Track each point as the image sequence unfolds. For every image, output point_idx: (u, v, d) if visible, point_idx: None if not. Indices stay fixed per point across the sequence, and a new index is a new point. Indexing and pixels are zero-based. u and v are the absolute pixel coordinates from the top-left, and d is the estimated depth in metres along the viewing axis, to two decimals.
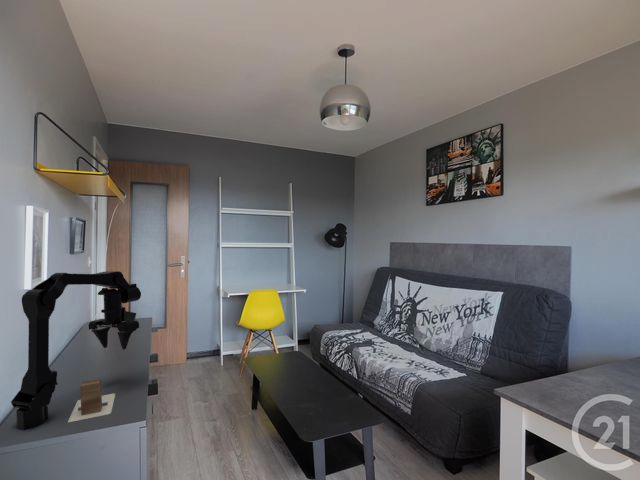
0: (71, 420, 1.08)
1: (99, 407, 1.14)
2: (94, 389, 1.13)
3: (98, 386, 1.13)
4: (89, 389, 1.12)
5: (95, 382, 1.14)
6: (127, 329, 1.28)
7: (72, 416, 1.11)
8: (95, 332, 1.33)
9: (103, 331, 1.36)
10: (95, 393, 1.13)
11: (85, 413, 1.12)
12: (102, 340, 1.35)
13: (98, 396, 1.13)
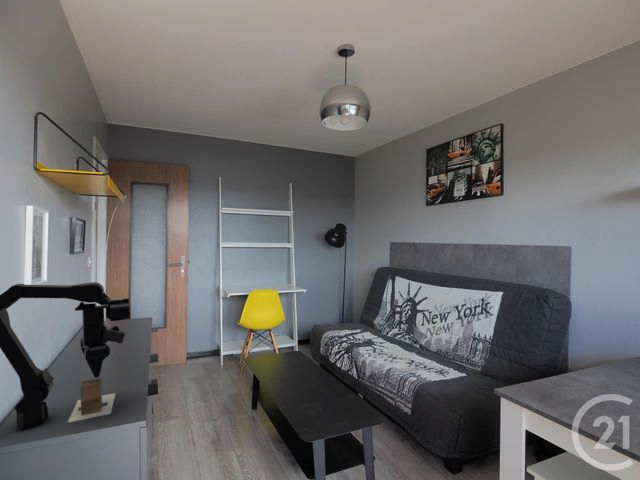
0: (71, 420, 1.08)
1: (99, 407, 1.14)
2: (94, 389, 1.13)
3: (98, 386, 1.13)
4: (89, 389, 1.12)
5: (95, 382, 1.14)
6: (88, 356, 1.06)
7: (72, 416, 1.11)
8: (82, 350, 1.17)
9: None
10: (95, 393, 1.13)
11: (85, 413, 1.12)
12: None
13: (98, 396, 1.13)
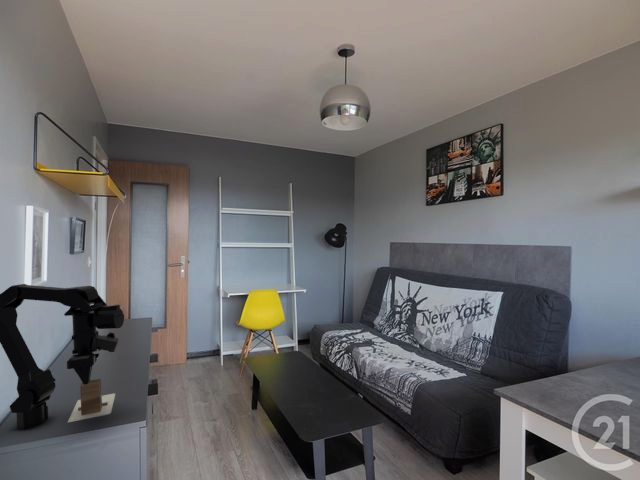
0: (71, 420, 1.08)
1: (99, 407, 1.14)
2: (94, 389, 1.13)
3: (98, 386, 1.13)
4: (89, 389, 1.12)
5: (95, 382, 1.14)
6: (69, 366, 0.98)
7: (72, 416, 1.11)
8: None
9: None
10: (95, 393, 1.13)
11: (85, 413, 1.12)
12: None
13: (98, 396, 1.13)
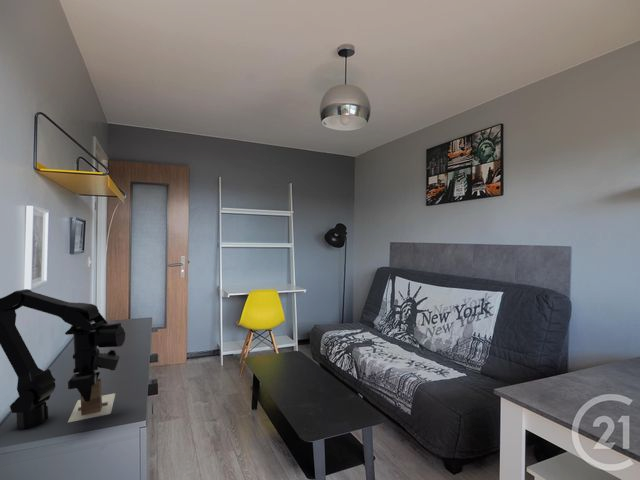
0: (71, 420, 1.08)
1: (99, 407, 1.14)
2: (94, 389, 1.13)
3: (98, 386, 1.13)
4: None
5: None
6: (70, 386, 0.99)
7: (72, 416, 1.11)
8: None
9: None
10: (95, 393, 1.13)
11: (85, 413, 1.12)
12: None
13: (98, 396, 1.13)
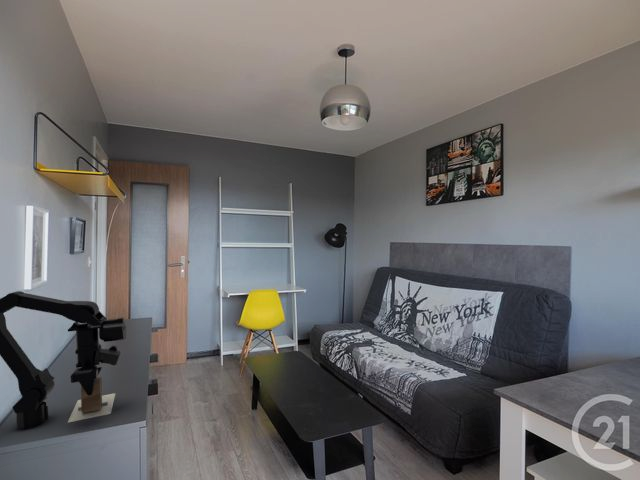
0: (71, 420, 1.08)
1: (99, 404, 1.14)
2: (95, 385, 1.14)
3: (99, 382, 1.15)
4: None
5: (96, 379, 1.16)
6: (73, 380, 1.03)
7: (72, 416, 1.11)
8: None
9: None
10: (95, 389, 1.14)
11: (85, 410, 1.12)
12: None
13: (98, 393, 1.14)
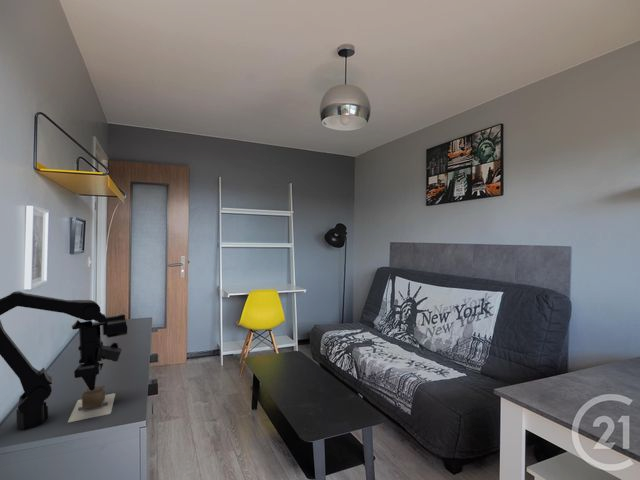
0: (71, 420, 1.08)
1: None
2: (99, 387, 1.22)
3: (103, 386, 1.23)
4: None
5: None
6: (76, 375, 1.07)
7: (72, 416, 1.11)
8: None
9: None
10: (99, 388, 1.21)
11: (86, 394, 1.15)
12: None
13: (101, 388, 1.20)
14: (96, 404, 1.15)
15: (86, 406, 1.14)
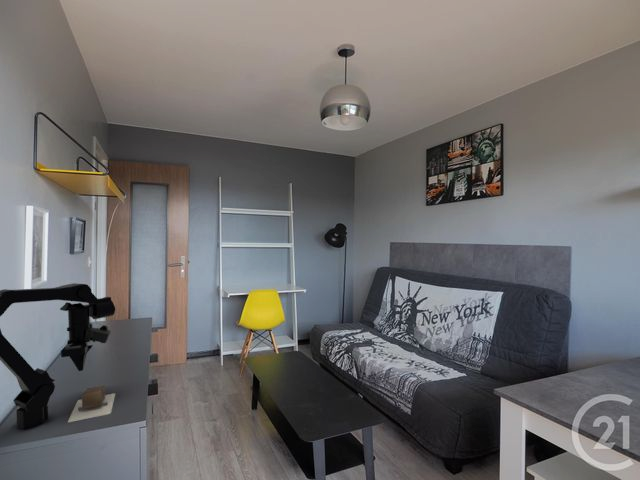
0: (71, 420, 1.08)
1: None
2: (99, 387, 1.22)
3: (103, 386, 1.23)
4: (94, 388, 1.22)
5: None
6: (63, 354, 1.09)
7: (72, 416, 1.11)
8: None
9: None
10: (99, 388, 1.21)
11: (86, 394, 1.15)
12: None
13: (101, 388, 1.20)
14: (96, 404, 1.15)
15: (86, 406, 1.14)
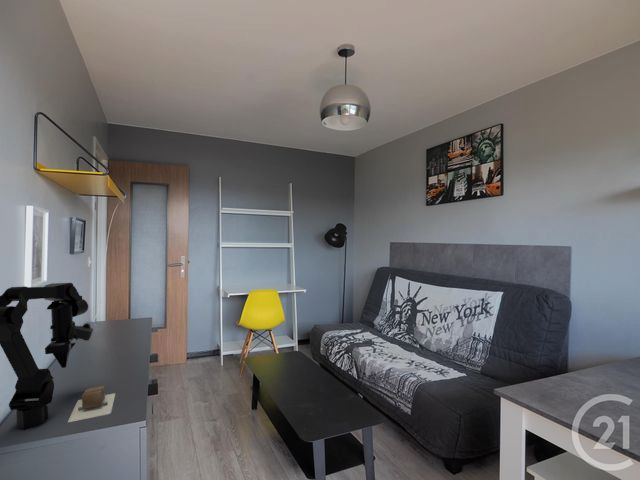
0: (71, 420, 1.08)
1: None
2: (99, 387, 1.22)
3: (103, 386, 1.23)
4: (94, 388, 1.22)
5: None
6: (47, 351, 1.13)
7: (72, 416, 1.11)
8: None
9: None
10: (99, 388, 1.21)
11: (86, 394, 1.15)
12: None
13: (101, 388, 1.20)
14: (96, 404, 1.15)
15: (86, 406, 1.14)
